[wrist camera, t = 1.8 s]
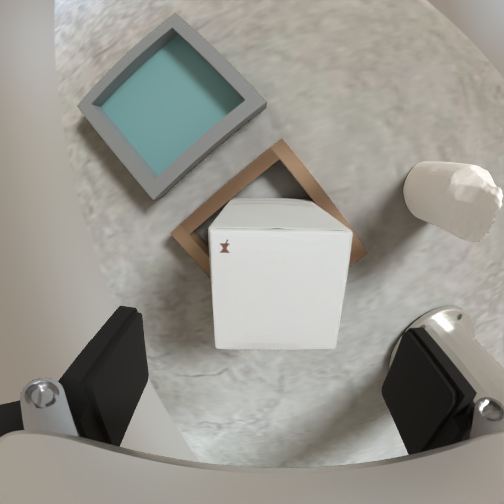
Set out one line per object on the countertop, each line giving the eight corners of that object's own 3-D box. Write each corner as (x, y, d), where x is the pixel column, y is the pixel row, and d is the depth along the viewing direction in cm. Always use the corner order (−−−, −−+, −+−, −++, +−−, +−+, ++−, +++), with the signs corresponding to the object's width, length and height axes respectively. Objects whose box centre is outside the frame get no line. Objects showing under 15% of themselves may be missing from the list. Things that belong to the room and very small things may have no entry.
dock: (266, 107, 24) (266, 101, 22) (162, 196, 27) (153, 200, 24) (181, 23, 22) (175, 12, 19) (90, 109, 24) (77, 106, 22)
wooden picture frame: (361, 246, 27) (368, 252, 25) (260, 321, 30) (260, 331, 28) (280, 140, 25) (281, 138, 23) (176, 228, 27) (170, 233, 26)
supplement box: (230, 274, 29) (209, 351, 17) (230, 195, 26) (204, 222, 14) (307, 276, 28) (336, 353, 16) (313, 198, 26) (355, 227, 14)
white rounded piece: (520, 255, 15) (472, 256, 15) (443, 221, 26) (399, 219, 27) (529, 173, 13) (481, 161, 13) (446, 163, 25) (401, 158, 25)
